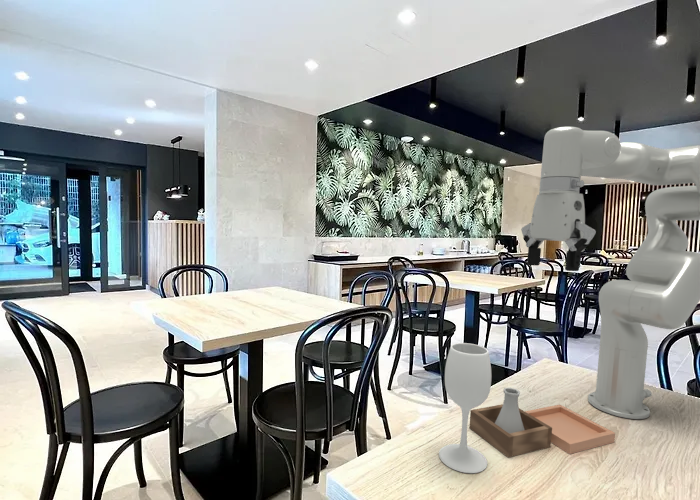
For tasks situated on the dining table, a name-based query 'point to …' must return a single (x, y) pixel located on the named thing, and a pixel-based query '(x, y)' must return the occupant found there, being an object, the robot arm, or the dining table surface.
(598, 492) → the dining table surface
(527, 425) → the frame
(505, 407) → the flask
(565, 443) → the terracotta tray
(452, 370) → the wineglass
